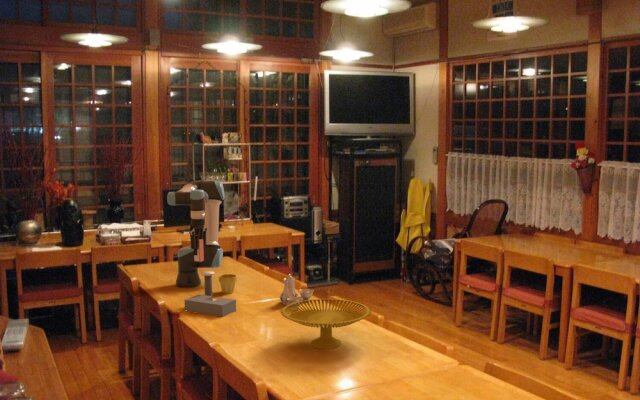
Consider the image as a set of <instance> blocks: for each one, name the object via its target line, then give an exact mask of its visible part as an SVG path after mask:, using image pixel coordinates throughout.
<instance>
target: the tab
mask: <svg viewBox="0 0 640 400" xmlns="http://www.w3.org/2000/svg"><path fill="white" fill-rule="evenodd" d="M198 249H199V261H196V262H201V261H204V252H203V239H199V240H198Z"/></svg>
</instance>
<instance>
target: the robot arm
mask: <svg viewBox="0 0 640 400" xmlns="http://www.w3.org/2000/svg"><path fill="white" fill-rule="evenodd" d="M166 199H167V201H166V202H167V204H168V205H169V206H190V218H191V219H190V225H191V226H192V230H189V232H188V233H189V236H190V237H189V239H190V240H189V241H190V245H189V246H184V247H181V248H179V249H178V250H177V271H178V272H177V276H176V280H175V287H177V288H183V289H184V288H196V287H200V286H202V280H201V276H200V274H199V269H215V268H219V267H221V266H222V262H223V257H224V254H223V253H224V250H223V248H222V247H221V245H220V244H219V228H220V227H219V226H220V225H219V224H220V223H219V222H220V220H219V219H220V205H221V204H222V203H223V200H225V189H224V184H223V182H222V181H220V180H196V181H192V182H189V183H186V184H184V185H183V186H182V188H181V189H179V190H177V191H169V192H168V193H167V196H166ZM199 239H203V252H204V261H201V262H196V261H199V249H198V240H199Z"/></svg>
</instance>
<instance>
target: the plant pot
mask: <svg viewBox="0 0 640 400" xmlns="http://www.w3.org/2000/svg"><path fill="white" fill-rule="evenodd" d="M237 280H238V276H237V274H234V273H224V274H220V275H219V276H218V282H219V284H220V289H221V292H222V294H227V295H228V294H232V293H234V292H235V287H236V283H237Z"/></svg>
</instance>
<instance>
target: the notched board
mask: <svg viewBox="0 0 640 400" xmlns="http://www.w3.org/2000/svg"><path fill="white" fill-rule="evenodd" d="M213 299H214V297H213V295H212V296H206V295H205V294H196V295H194V296H192V297H191V296H190V297H188V298H185V299H184V311H185V310H187V311H186V312H188V311H191V312H190V313H194V312H196V313H195V314H201V315H206V316H207V315H208V316H215V317H219V318H221V317H225V316H229V315H230V314H232V313H235V312H236V311H237V300H236V299H235V298H228V297H227V298H226V297H220V298H216V300H214V301H213Z"/></svg>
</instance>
